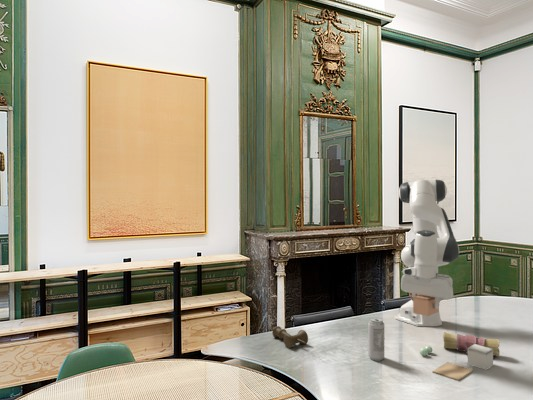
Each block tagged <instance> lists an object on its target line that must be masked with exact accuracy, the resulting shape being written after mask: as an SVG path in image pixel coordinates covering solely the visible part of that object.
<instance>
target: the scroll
mask: <svg viewBox="0 0 533 400" xmlns="http://www.w3.org/2000/svg"><path fill="white" fill-rule="evenodd" d="M442 338H443V348H444V349H456V350H457V351H461V352H462V351H464V353H465V354H467V355H468V348H469V347H470V346H472V345H474V344H477V345H481V346H484V347H488V348H492V349H493V356H497V357H499V356H500V343H501V342H500V339H497V338H495V339H494V338H485V337H477V336H475V335H471V334H465V335H463V334H459V333H458V334H453V333H449V332H443V336H442Z"/></svg>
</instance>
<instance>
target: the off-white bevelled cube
mask: <svg viewBox="0 0 533 400" xmlns="http://www.w3.org/2000/svg"><path fill="white" fill-rule="evenodd" d="M467 365H469V366H473V367H476V368H479V369H482V370H488V369H490V368H491V367H492V366H493V365H494V355H493V349H492V348H488V347H484V346H481V345H477V344H474V345H472V346H470V347H469V348H468V354H467Z"/></svg>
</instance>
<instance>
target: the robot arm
mask: <svg viewBox="0 0 533 400" xmlns="http://www.w3.org/2000/svg"><path fill="white" fill-rule="evenodd" d="M447 194H448V187H447V185H446V183H445V182H444V180H443V179H421V178H420V179H417V180H414V181H409V182H408V181H406V182H402V183H401V184H400V186H399V188H398V196H399V199H400V201H401V202H403V203H404V204H409V209H410V211H411V213H412V217H411V218H412V231H413V233H414V235H415V237H414V239H412V240H411V241H410V245H407V246H405V247H403V249H402V250H401V253H400V259H401V261H402V262H401V263H403V264H404V266H406V268H403V269H402V276H401V279H400V290H401V291H402V292H405V293H408V294H409V293H410V295H409V297H410V298H411V299H410V300H408V301H407V302H406V303H404V304H402V305H401V306H400V309H399V313H397V314H395V316H394V319H395V320H398V321H401V322H404V323H406V324H407V323H408V324H409V325H413V326H417V327H438V326H442V325H443V322H442V318H441V314H440V313H441V312H440V311H439V312H437V313H435V314H432V315H430V316H425V315H420V314H416V313H413V296H416V295H425V296H430V297H435V300H437V301H436V302H435V303H434V304H432V306H433V307H432V308H434V309H438V304H439V305H440V302H441V301H442V300H447V301H448V300H451V299H453V297H454V288H453V283H454V282H453V281H454V280H453V277H451V276H450V275H449V274H443V273H439V267H443V266H446V265H449V264H450V263H451V264H452V263H453V262H455V261H456V260H457V259H458V258H459V256H460V247H459V244H458V242H457V239H456V237H455V236H454V232H453V229H452V225H451V223H450V220H449V217H448V215H447V213H446V211H445V209H444V208H443V207H441V206H439V203H440V202H442V201H443V200H445V199H446V196H447ZM437 226H438V227H439V230H440V234H441V237H440V236H439V232H438V228H437Z"/></svg>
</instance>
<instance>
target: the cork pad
mask: <svg viewBox="0 0 533 400" xmlns="http://www.w3.org/2000/svg"><path fill="white" fill-rule="evenodd" d="M473 371H474V369H472V368H469V367H465V366H462V365H459V364H456V363H452V362H449V361H447V362H445V363H444V364H442V365H440V366H439V367H437V368H435V369H434V370H432V373H433V374H436V375H438V376H439V375H440V376H442V377H445V378H448V379H451V380H453V381H457V382H460V381H461V380H463V378H465V377H467V376H468V375H470V374H471V373H473Z"/></svg>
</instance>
